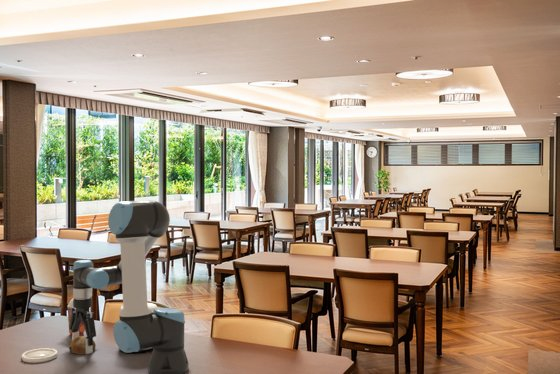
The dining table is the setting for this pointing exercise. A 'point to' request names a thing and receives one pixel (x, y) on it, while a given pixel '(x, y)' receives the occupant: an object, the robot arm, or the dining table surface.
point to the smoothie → (70, 306)
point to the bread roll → (79, 345)
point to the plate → (39, 355)
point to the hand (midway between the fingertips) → (82, 350)
